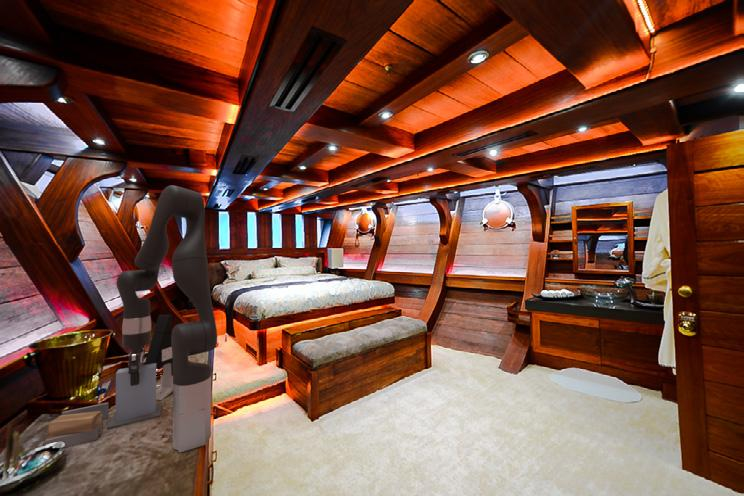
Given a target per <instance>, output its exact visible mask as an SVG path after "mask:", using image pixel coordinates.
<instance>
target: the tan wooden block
mask: <svg viewBox="0 0 744 496" xmlns="http://www.w3.org/2000/svg"><path fill="white" fill-rule="evenodd" d="M97 411H101V419H102V430H103V429H104V421H106V420H108V419H109V401H108V402H103V403H98V404H94V405H90V406H85V407H79V408H75V409H70V410H64V411H62V412H61V415H69V414H78V413H88V412H97ZM98 439H99V436H98V427H96V428H95V429H93V430H92V431H86V432H77V433H71V434H66V435H62V436H58V437H54V438H50V437H49V438H46V439H45V440H44V446H45V445H46V444H49V443H53V442H58V441H62V442H64V443H65V448H67V447H71V446H72V447H73V446H76V445H79V444H85V443H87V442H91V441H95V440H98Z"/></svg>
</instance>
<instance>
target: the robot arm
mask: <svg viewBox="0 0 744 496" xmlns="http://www.w3.org/2000/svg"><path fill="white" fill-rule="evenodd" d="M205 208H206V207H205V200H204V198H203V195H202V194H201V193H200V192H198V191H195V190H191V189H188V188H185V187H181V186H178V185H172V184H171V185H168V186H166V187H165V188H164V189H163V190H162V192H161V193H160V195H159V198H158V200H157V204H156V206H155V210H154V212H153V215H152V218H151V221H150V225H149V228H148V232H147V235H146V237H145V239H144V241H143V243H142V244H141V247H140V249H139V251H138V252H137V254H136V256H135V258H134V265H135V266H136V267H137V268H139V269H138V270H137V269H136V270H126V271H125V270H124V271H122V272H121V273H120V274H119V275H118V276H117V278H116V282H115V283H116V287H117V290H118V291H117V292H118V293H119V296H120V300H121V303H122V306H123V319H122V326H121V327H122V328H121V331H122V332H121V333H122V334H121V337H122V338H121V341H122V344H121V347H122V348H125V349H128V348H129V349H131V350H130V351H129V352H128V354H127V356H128V364H127V365H128V368H129V371H128V373H129V374H130V385H131V386H134V385H138V384H139V373H140V366H142V365H144V364H145V360H146V358H145V357H146V355H145V354H146V349H145V346H147V345H150V343H151V340H152V318H151V301H150V299H149V298H145V297H139V296H138V294H137V292H144V291H150V290H152V289H153V288H155V286H156V285H157V283H158V279H159V273H160V268H161V264H162V263H163V261H164V260H165V258H166V257H167V254H168V252H169V250H170V249H169V248H170V241H169V237H168V232H167V231H168V230H167V224H168V222H169V221H170V218H171V217H172V216H174V217H178V218H184V219H185V225H186V226H185V234H184V236H183V238H182V239H181V241H180V242H179V244H178V245H177V247H176V249H175V250H174V252H173V254H172V258H171V264H172V268H171V269H172V277H173V281H174V282H175V285H177V287H178V288H179V289H180V290H181V291H182V293H184V295H185V296H186V297H188V299H189V300H190V302H191V303H192V304H193V305H194V307H195V310H196V312H197V314H198V315H197V316H198V319H199V320H197V321H195V320H194V321H189V322H188V321H187V322H182V323H178V324H176V325H174V327H172V331H171V332H172V336H171V344H172V360H173V391H172V448H173V449H174V450H176V451H178V453H183V452H187V451H191V450H193V449H196V448H199V447H203V446H206V444H207V442H208V441H209V440H210V439H211V436H212V368H211V366H210V365H209V364H207V363H203V362H194V361H190V360H189V357H190V356H195V355H199V354H204V353H207V352H212V351H213V350H215V349H216V346H217V344H218V329H217V324H216V320H215V319H216V318H215V313H214V309H213V303H212V297H211V296H212V295H211V287H210V276H209V275H210V272H209V271H210V270H209V261H208V255H207V248H206V247H207V246H206V234H205V231H206V230H205V223H206V222H205V219H206V218H205V217H206V216H205V215H206V210H205ZM136 366H137V369H132V368H133V367H136Z"/></svg>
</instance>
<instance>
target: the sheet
mask: <svg viewBox="0 0 744 496" xmlns="http://www.w3.org/2000/svg"><path fill="white" fill-rule="evenodd" d="M132 369H137V366H136V367H133V368H132ZM128 371H129V367H125V368H120V369H118V370H117V371H116V373H115V413H116V421H121V420H125V419H129V418H133V417H138V416H142V415H146V414H150V413H155V410H156V404H157V399H156V391H157V387H156V386H157V376H156V375H157V369H156V363H154V364H148V365H144V364H142V366H140V373H139V384H138V385H134V386H131V385H130V374H129V373H128Z"/></svg>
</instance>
